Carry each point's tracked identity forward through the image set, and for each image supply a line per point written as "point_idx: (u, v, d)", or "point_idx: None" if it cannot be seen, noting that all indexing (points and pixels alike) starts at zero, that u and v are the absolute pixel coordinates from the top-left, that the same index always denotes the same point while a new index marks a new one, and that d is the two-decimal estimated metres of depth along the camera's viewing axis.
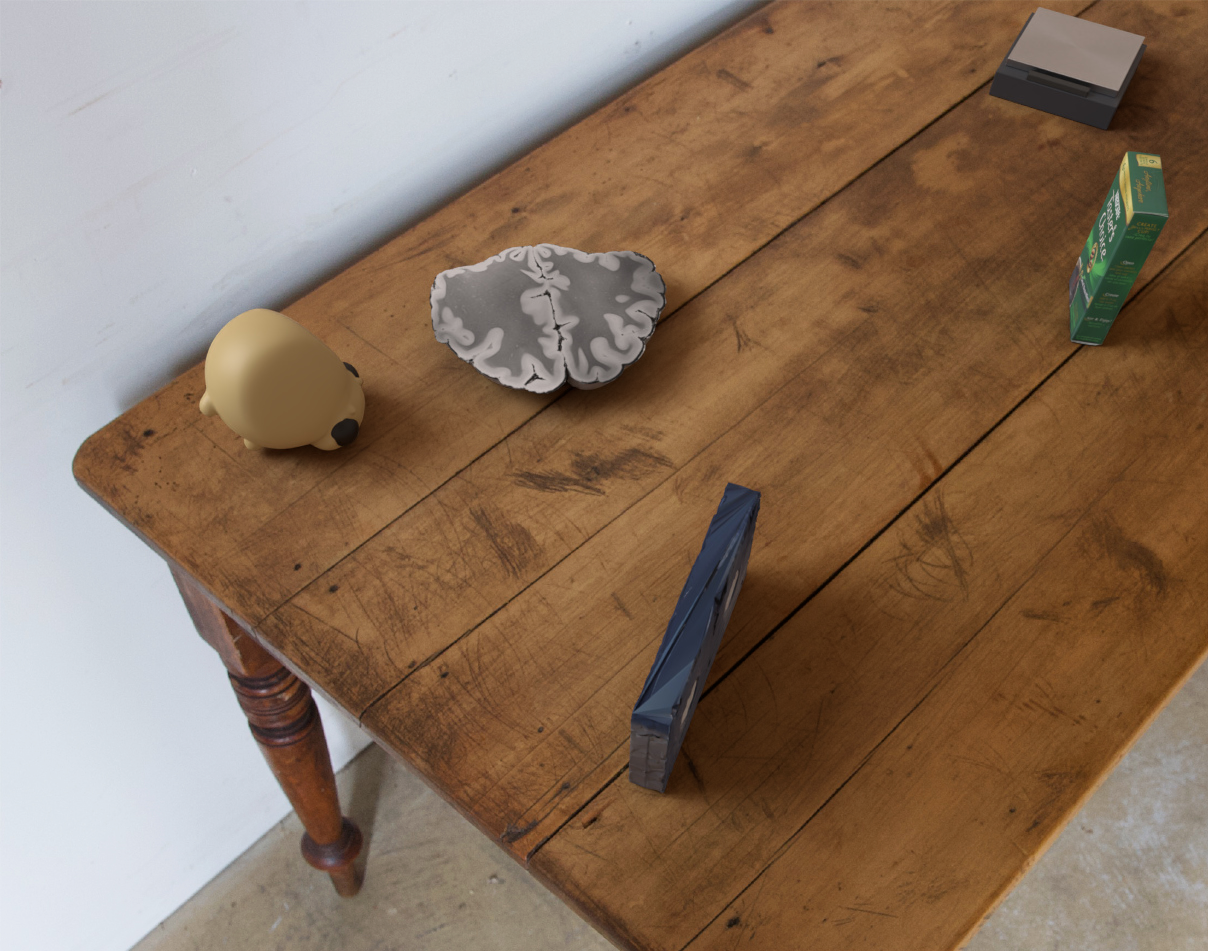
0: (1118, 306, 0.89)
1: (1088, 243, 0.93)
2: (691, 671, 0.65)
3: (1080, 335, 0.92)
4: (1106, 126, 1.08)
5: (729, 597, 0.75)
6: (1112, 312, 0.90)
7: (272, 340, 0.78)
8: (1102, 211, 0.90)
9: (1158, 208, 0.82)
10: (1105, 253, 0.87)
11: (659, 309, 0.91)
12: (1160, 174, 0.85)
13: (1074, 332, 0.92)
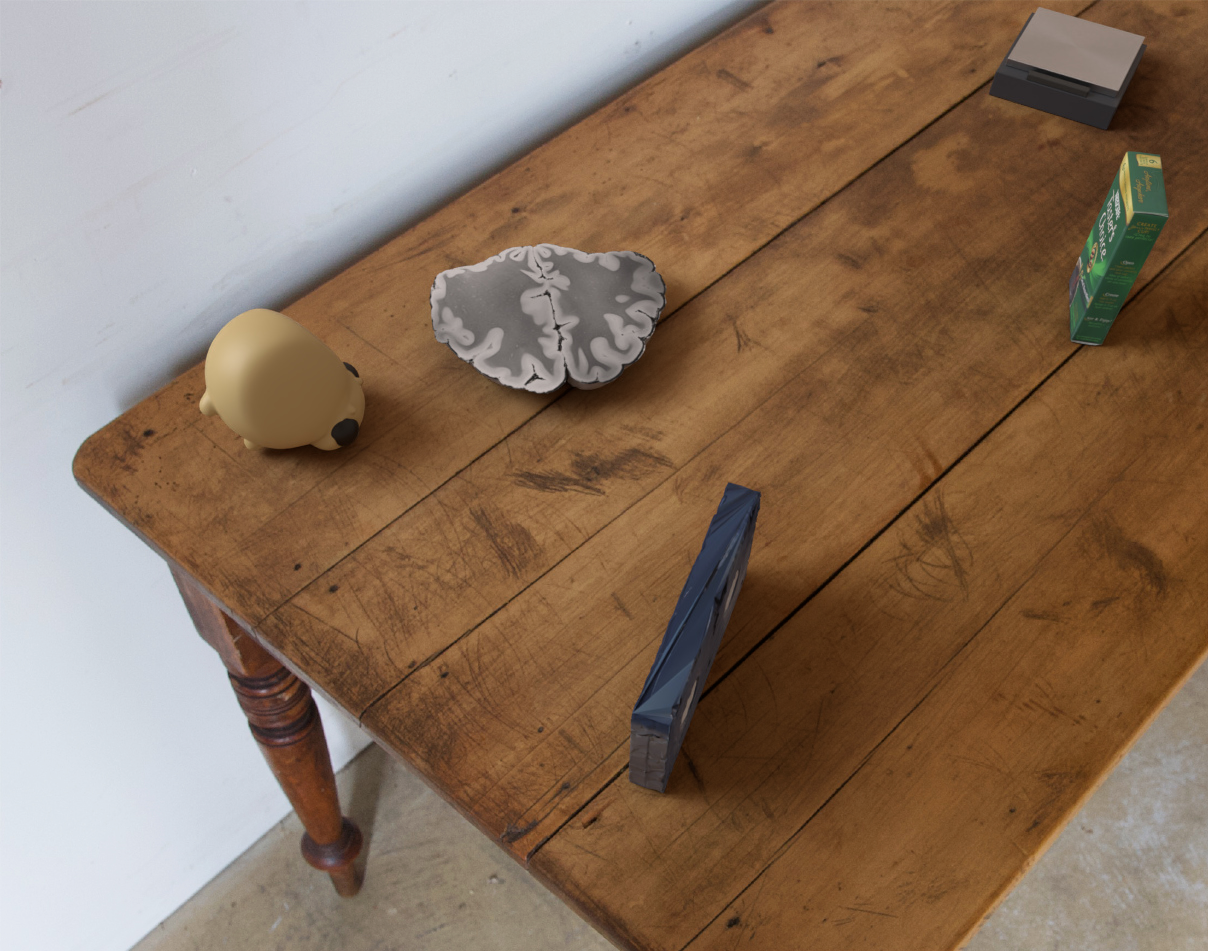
0: (1118, 306, 0.89)
1: (1088, 243, 0.93)
2: (691, 671, 0.65)
3: (1080, 335, 0.92)
4: (1106, 126, 1.08)
5: (729, 597, 0.75)
6: (1112, 312, 0.90)
7: (272, 340, 0.78)
8: (1102, 211, 0.90)
9: (1158, 208, 0.82)
10: (1105, 253, 0.87)
11: (659, 309, 0.91)
12: (1160, 174, 0.85)
13: (1074, 332, 0.92)
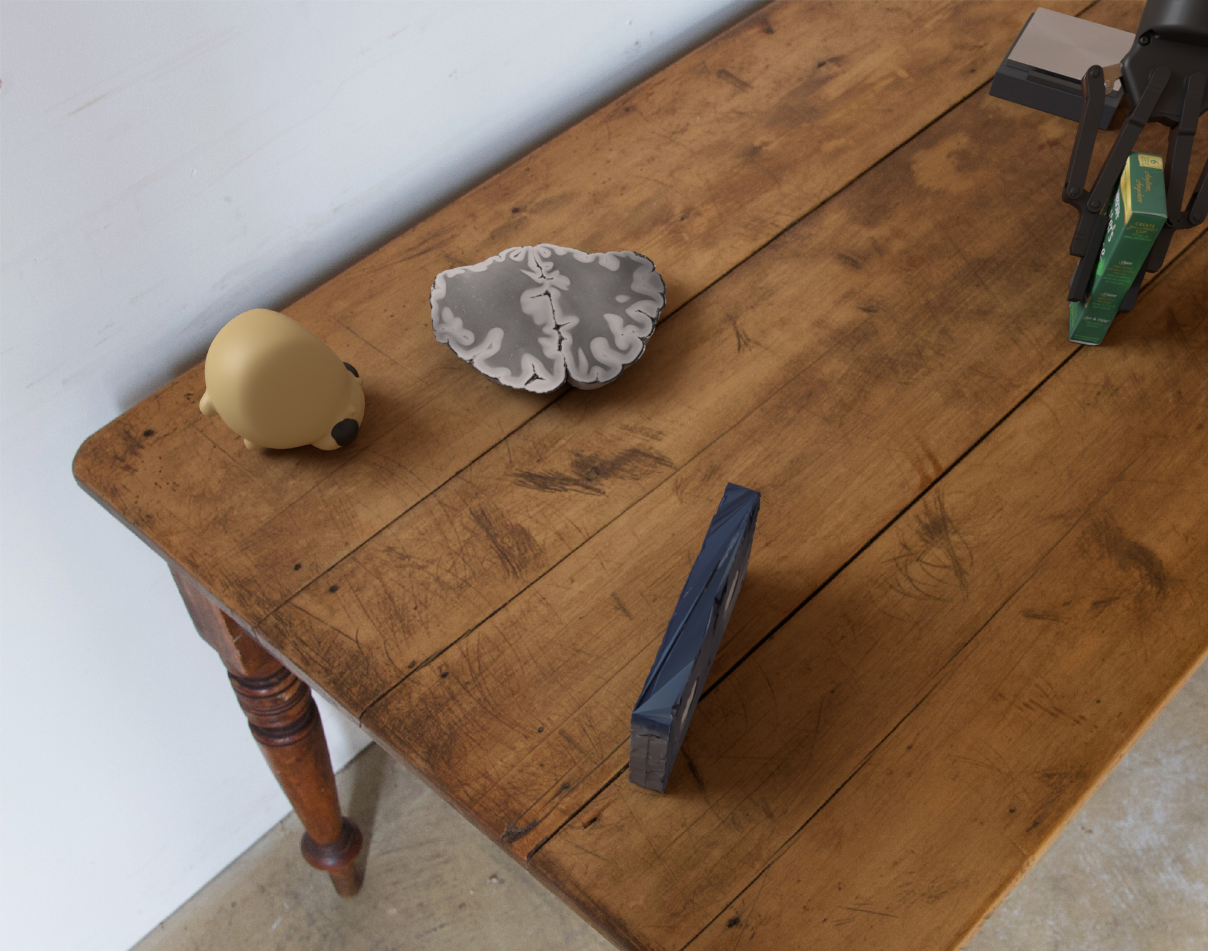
0: (1116, 306, 0.89)
1: None
2: (691, 671, 0.65)
3: (1078, 335, 0.93)
4: (1106, 126, 1.08)
5: (729, 597, 0.75)
6: (1111, 312, 0.90)
7: (272, 340, 0.78)
8: (1103, 211, 0.90)
9: (1157, 209, 0.82)
10: (1104, 252, 0.87)
11: (659, 309, 0.91)
12: (1161, 175, 0.85)
13: (1072, 331, 0.92)
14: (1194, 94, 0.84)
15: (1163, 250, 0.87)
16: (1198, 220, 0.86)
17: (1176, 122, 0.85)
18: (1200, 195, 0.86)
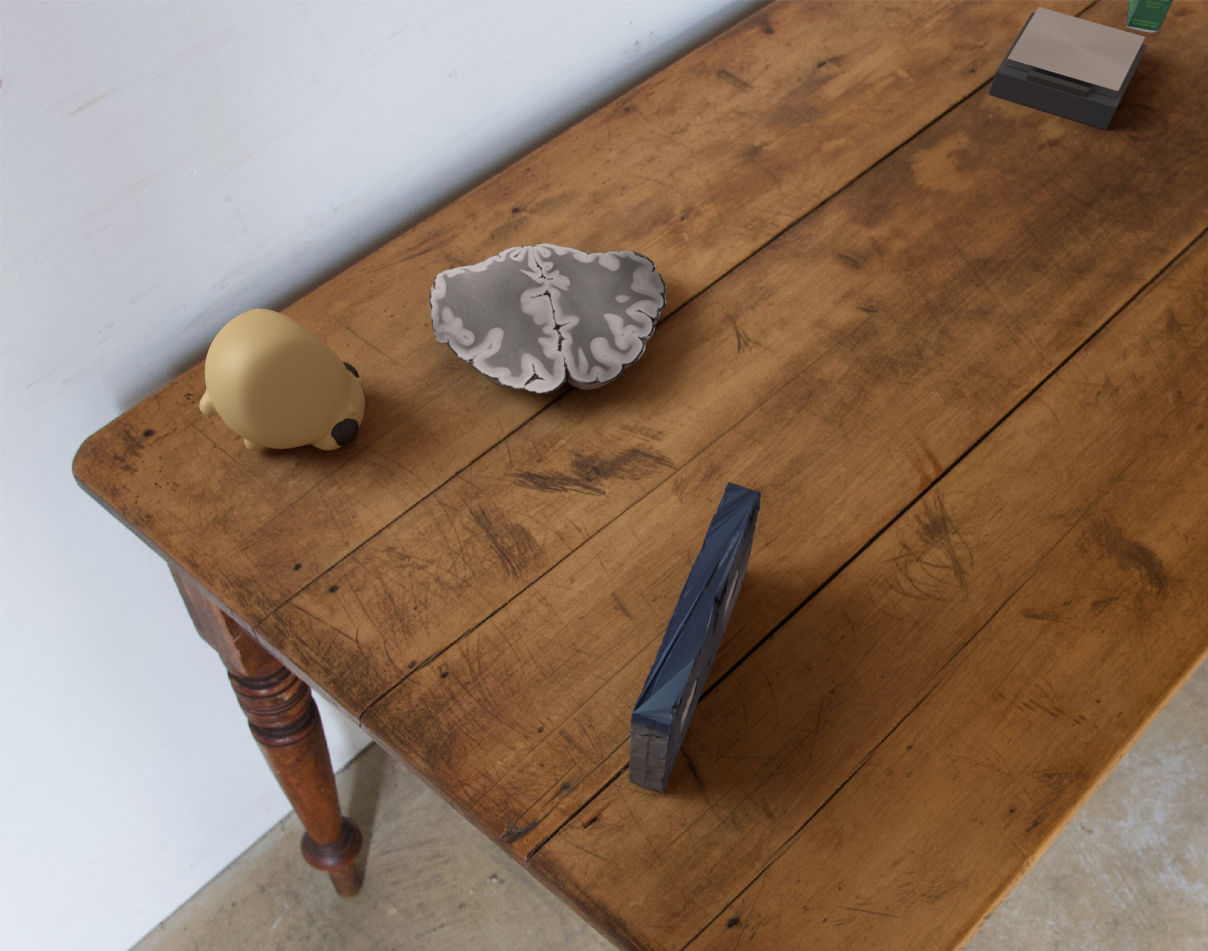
0: None
1: None
2: (691, 671, 0.65)
3: (1136, 19, 0.89)
4: (1106, 126, 1.08)
5: (729, 597, 0.75)
6: None
7: (272, 340, 0.78)
8: None
9: None
10: None
11: (659, 309, 0.91)
12: None
13: (1131, 15, 0.89)
14: None
15: None
16: None
17: None
18: None
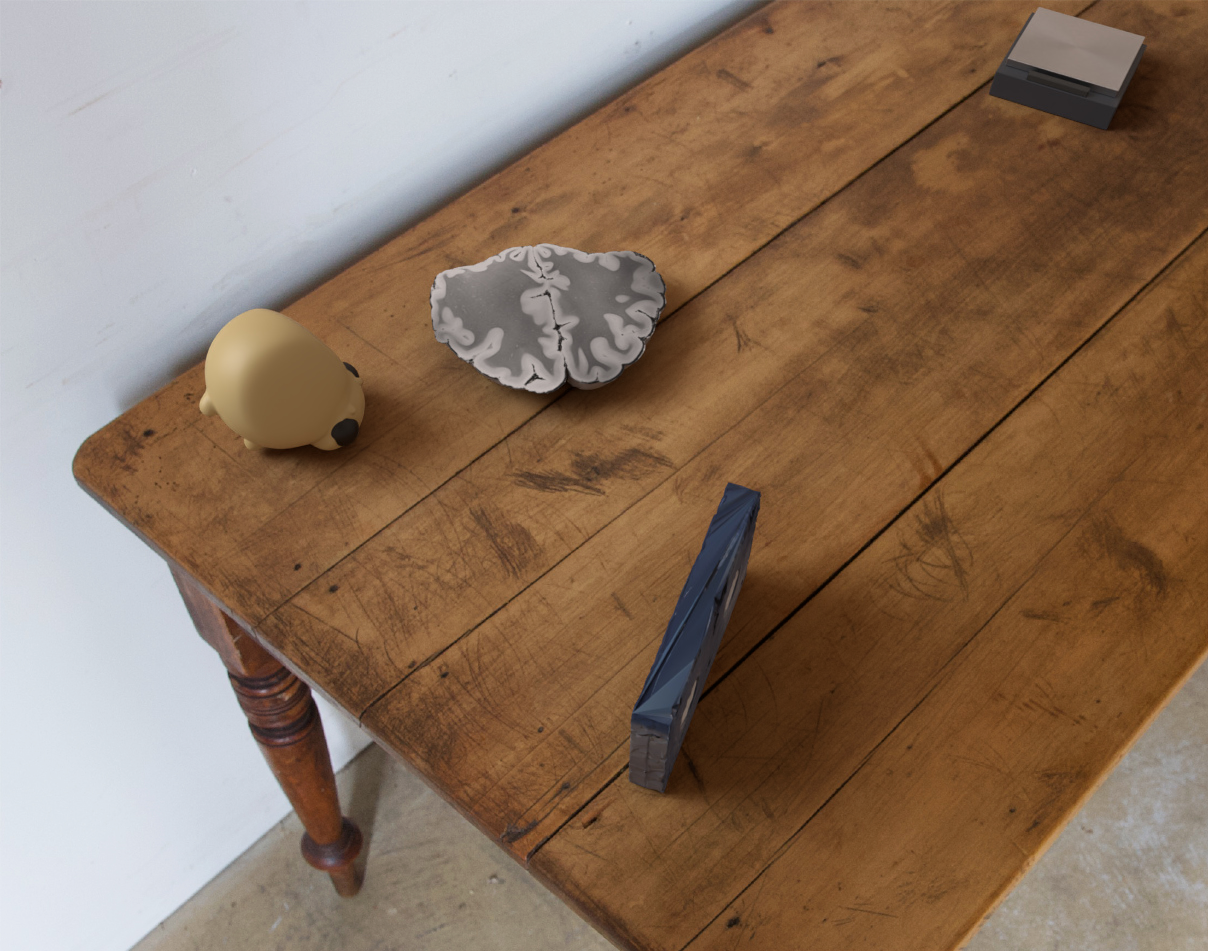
0: None
1: None
2: (691, 671, 0.65)
3: None
4: (1106, 126, 1.08)
5: (729, 597, 0.75)
6: None
7: (272, 340, 0.78)
8: None
9: None
10: None
11: (659, 309, 0.91)
12: None
13: None
14: None
15: None
16: None
17: None
18: None
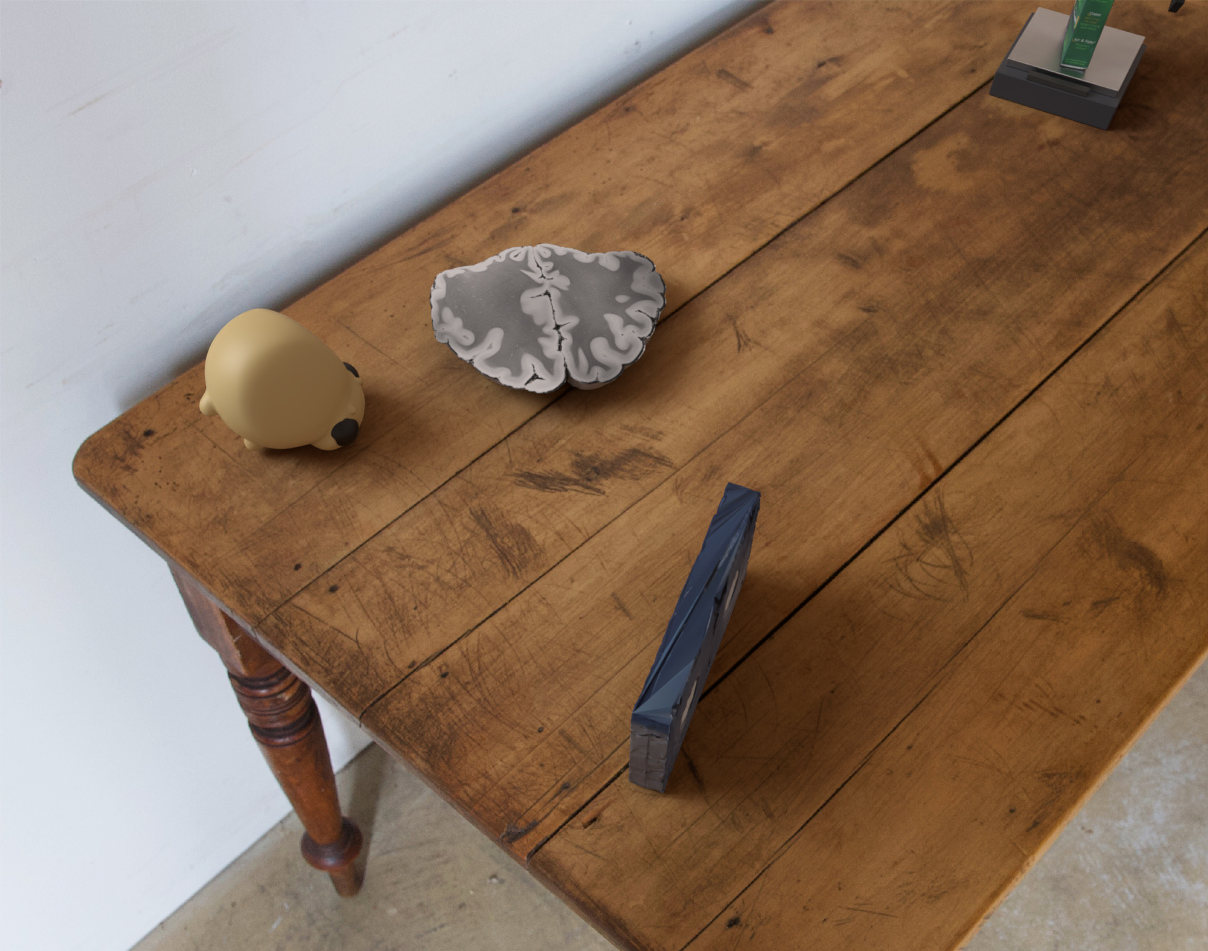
0: (1101, 26, 1.05)
1: None
2: (691, 671, 0.65)
3: (1068, 58, 1.08)
4: (1106, 126, 1.08)
5: (729, 597, 0.75)
6: (1096, 33, 1.05)
7: (272, 340, 0.78)
8: None
9: None
10: None
11: (659, 309, 0.91)
12: None
13: (1063, 55, 1.08)
14: None
15: None
16: None
17: None
18: None
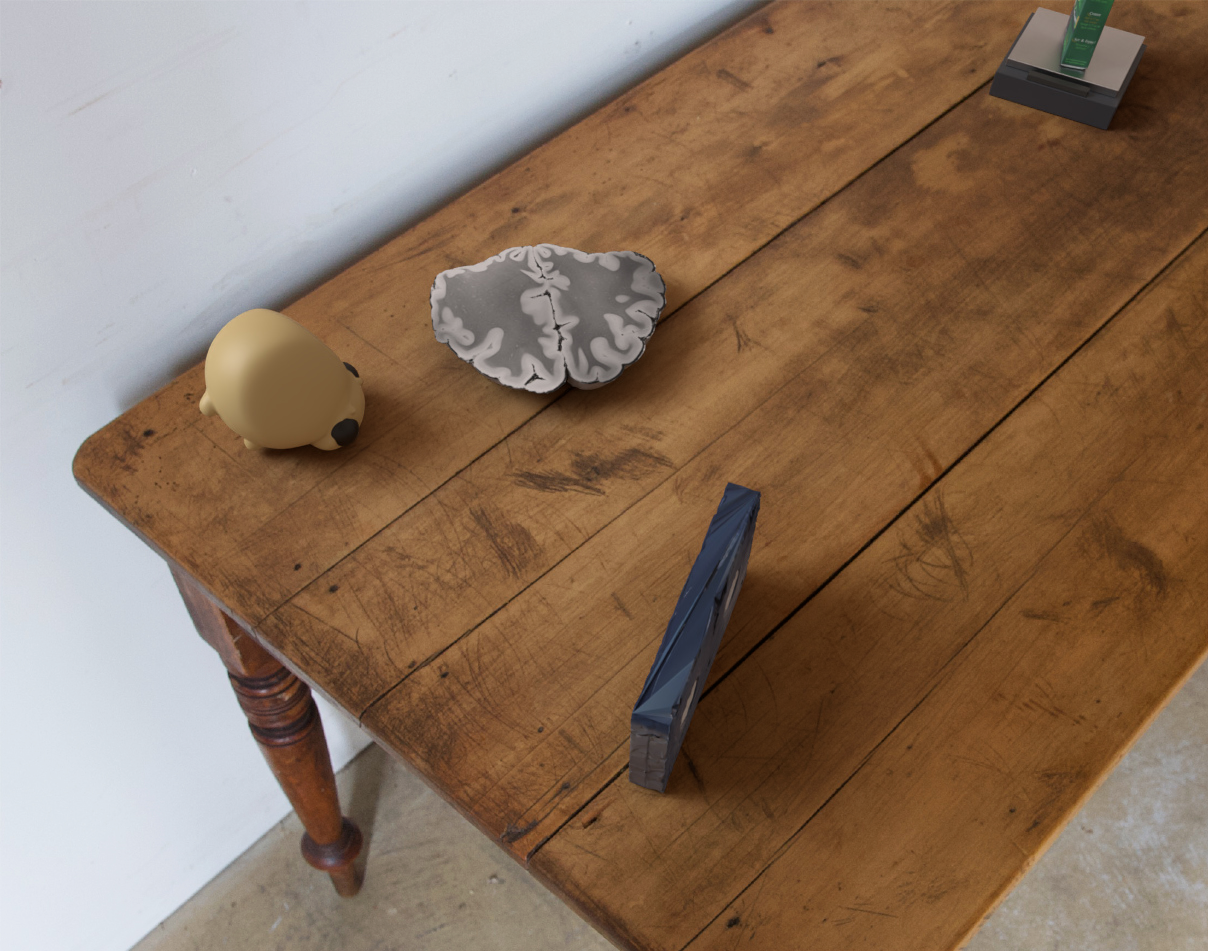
0: (1101, 26, 1.05)
1: None
2: (691, 671, 0.65)
3: (1068, 58, 1.08)
4: (1106, 126, 1.08)
5: (729, 597, 0.75)
6: (1096, 33, 1.05)
7: (272, 340, 0.78)
8: None
9: None
10: None
11: (659, 309, 0.91)
12: None
13: (1063, 55, 1.08)
14: None
15: None
16: None
17: None
18: None
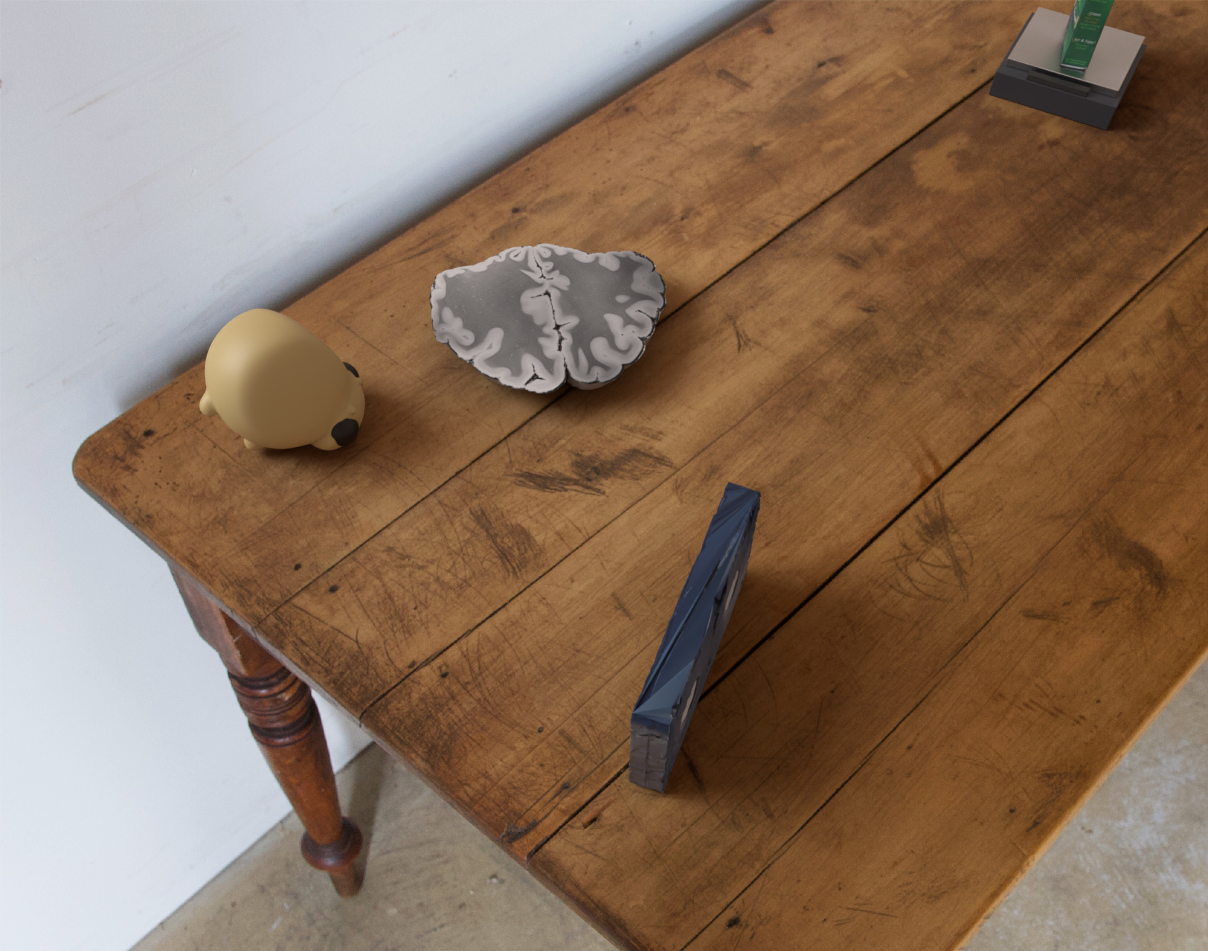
0: (1101, 26, 1.05)
1: None
2: (691, 671, 0.65)
3: (1068, 58, 1.08)
4: (1106, 126, 1.08)
5: (729, 597, 0.75)
6: (1096, 33, 1.05)
7: (272, 340, 0.78)
8: None
9: None
10: None
11: (659, 309, 0.91)
12: None
13: (1063, 55, 1.08)
14: None
15: None
16: None
17: None
18: None
